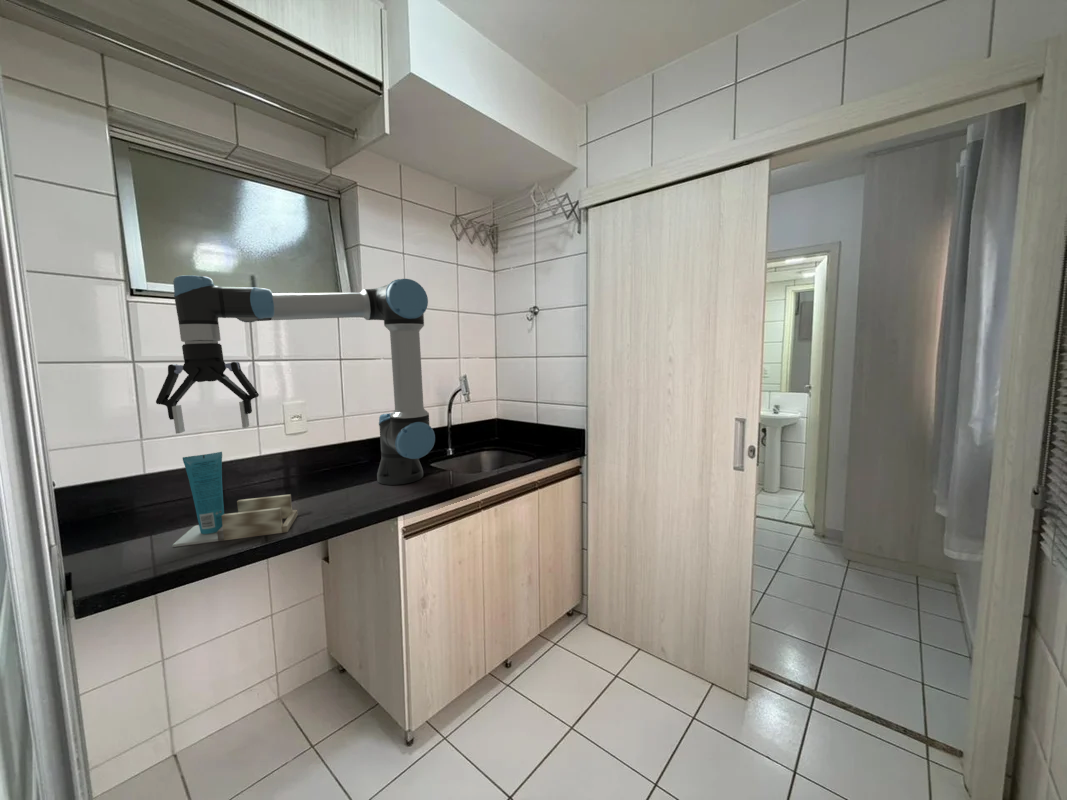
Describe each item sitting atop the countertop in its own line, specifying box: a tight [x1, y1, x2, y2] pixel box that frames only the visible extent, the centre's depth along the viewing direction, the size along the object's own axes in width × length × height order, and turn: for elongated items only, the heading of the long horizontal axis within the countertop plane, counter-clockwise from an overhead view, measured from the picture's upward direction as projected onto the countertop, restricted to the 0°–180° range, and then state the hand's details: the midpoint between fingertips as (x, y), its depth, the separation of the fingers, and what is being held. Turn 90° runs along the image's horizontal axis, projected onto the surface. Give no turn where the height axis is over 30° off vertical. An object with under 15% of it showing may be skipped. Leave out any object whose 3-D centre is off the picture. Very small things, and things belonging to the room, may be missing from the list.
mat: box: [172, 524, 219, 548], centre depth 102 cm, size 9×11×1 cm
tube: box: [182, 451, 225, 534], centre depth 101 cm, size 7×5×19 cm, turn 137°
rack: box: [217, 493, 299, 542], centre depth 105 cm, size 14×11×6 cm
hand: (213, 429), depth 103 cm, fingers open, 13 cm apart
